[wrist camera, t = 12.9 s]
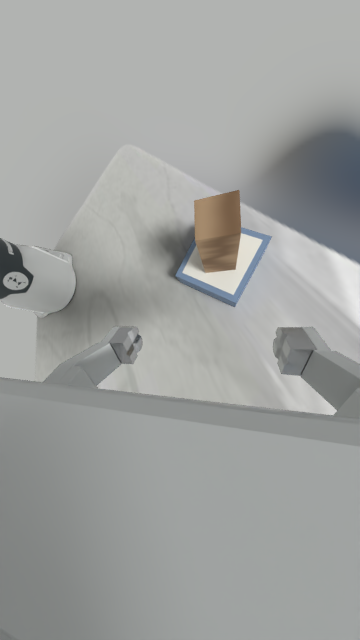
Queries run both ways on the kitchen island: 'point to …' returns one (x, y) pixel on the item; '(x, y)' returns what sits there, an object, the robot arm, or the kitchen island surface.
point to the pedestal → (225, 282)
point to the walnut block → (218, 231)
